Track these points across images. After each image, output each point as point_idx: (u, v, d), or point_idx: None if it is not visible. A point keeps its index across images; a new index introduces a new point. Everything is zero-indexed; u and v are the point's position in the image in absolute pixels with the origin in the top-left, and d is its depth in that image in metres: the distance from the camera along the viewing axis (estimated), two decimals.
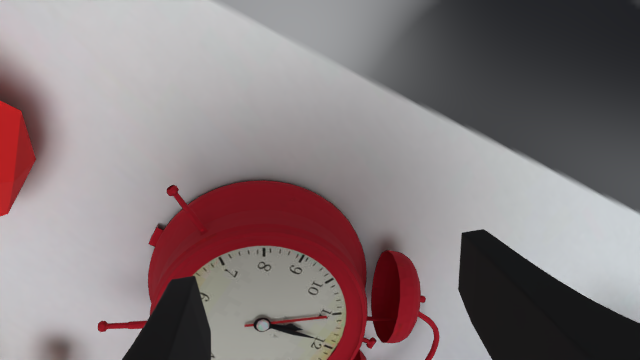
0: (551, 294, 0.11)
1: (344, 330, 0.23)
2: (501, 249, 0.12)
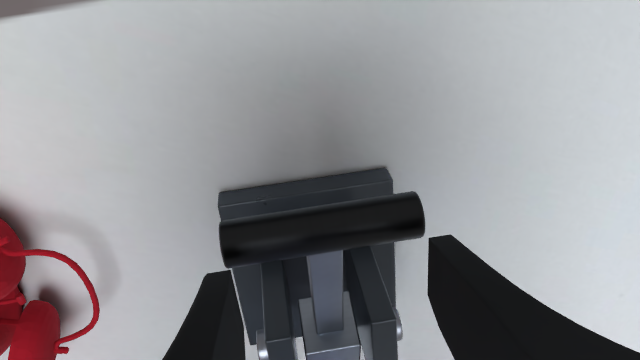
0: (510, 301, 0.11)
1: None
2: (465, 255, 0.12)
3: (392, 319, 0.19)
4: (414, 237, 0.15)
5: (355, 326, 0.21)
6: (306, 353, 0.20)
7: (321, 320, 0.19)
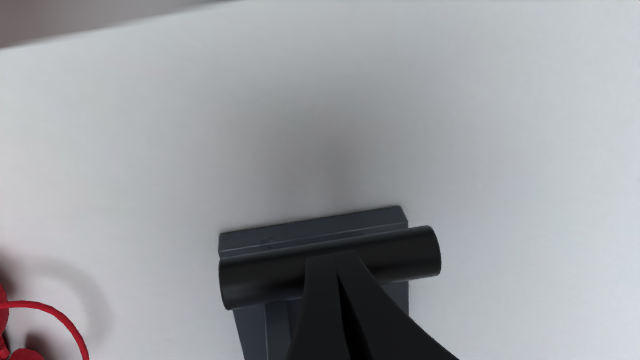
0: (385, 323, 0.10)
1: None
2: (358, 272, 0.12)
3: None
4: (430, 274, 0.14)
5: None
6: None
7: None
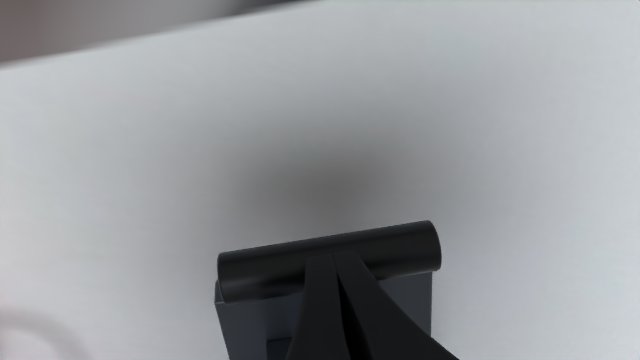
0: (384, 323, 0.10)
1: None
2: (358, 272, 0.12)
3: None
4: (431, 263, 0.14)
5: None
6: None
7: None
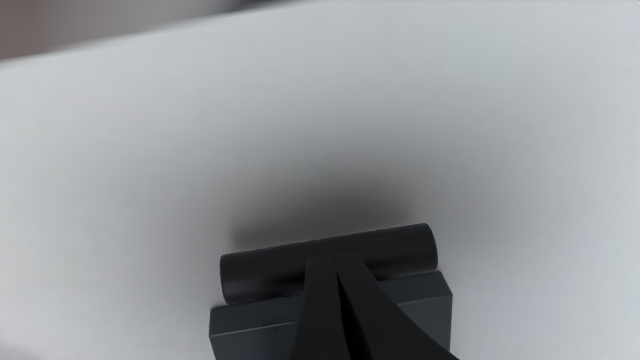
0: (384, 323, 0.10)
1: None
2: (358, 272, 0.12)
3: None
4: (427, 259, 0.14)
5: None
6: None
7: None
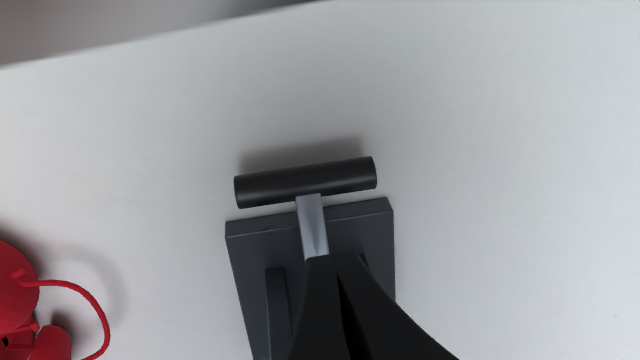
0: (384, 322, 0.10)
1: None
2: (358, 272, 0.12)
3: None
4: (369, 177, 0.22)
5: None
6: None
7: None
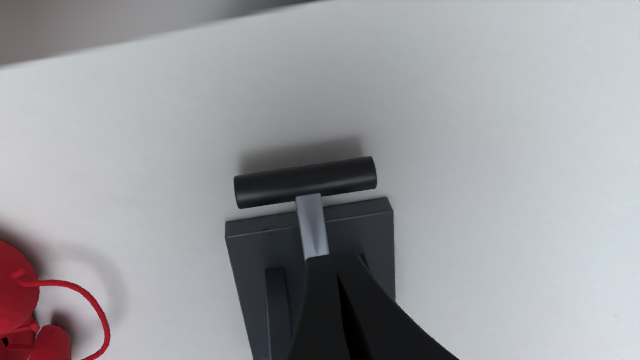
0: (384, 322, 0.10)
1: None
2: (358, 272, 0.12)
3: None
4: (369, 177, 0.22)
5: None
6: None
7: None
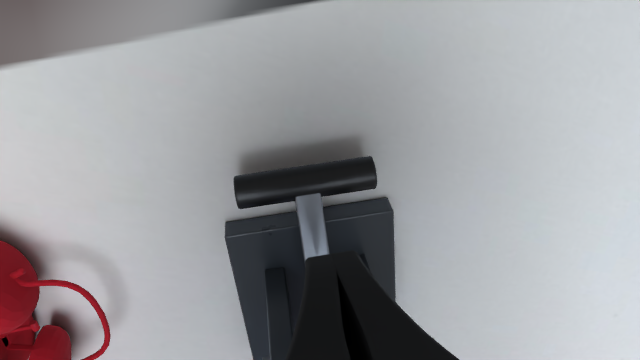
0: (384, 322, 0.10)
1: None
2: (358, 272, 0.12)
3: None
4: (369, 177, 0.22)
5: None
6: None
7: None
